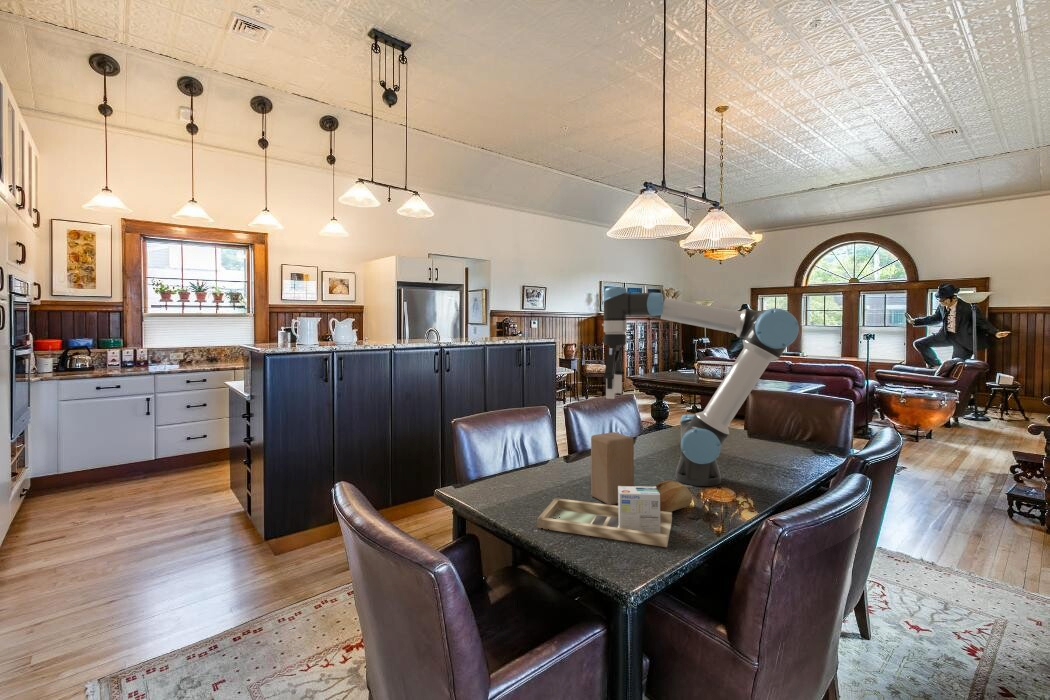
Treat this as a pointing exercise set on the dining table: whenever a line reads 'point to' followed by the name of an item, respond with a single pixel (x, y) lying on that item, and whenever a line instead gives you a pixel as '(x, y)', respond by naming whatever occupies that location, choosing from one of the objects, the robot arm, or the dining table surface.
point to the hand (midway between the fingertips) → (614, 395)
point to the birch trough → (599, 522)
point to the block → (611, 465)
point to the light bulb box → (639, 508)
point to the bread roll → (673, 496)
